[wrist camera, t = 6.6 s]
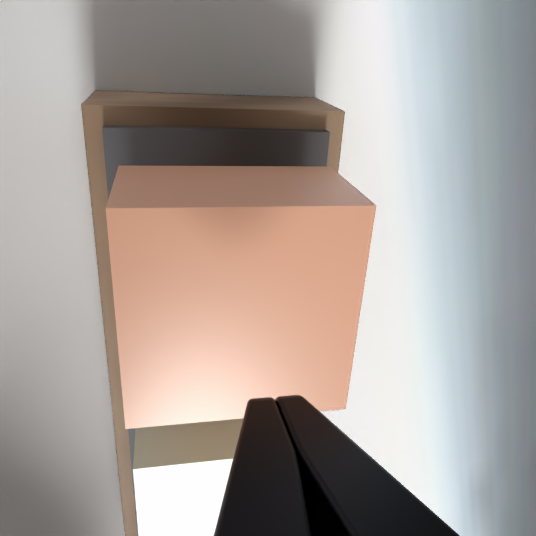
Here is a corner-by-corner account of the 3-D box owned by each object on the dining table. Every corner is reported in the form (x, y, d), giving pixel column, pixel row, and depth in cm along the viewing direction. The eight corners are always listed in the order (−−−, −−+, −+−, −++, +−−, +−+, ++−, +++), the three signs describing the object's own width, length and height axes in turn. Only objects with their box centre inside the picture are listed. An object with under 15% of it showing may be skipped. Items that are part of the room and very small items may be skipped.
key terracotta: (132, 349, 14) (125, 429, 11) (118, 165, 11) (105, 208, 9) (311, 338, 14) (345, 408, 12) (330, 166, 12) (376, 205, 10)
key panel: (136, 548, 24) (132, 622, 21) (95, 90, 15) (79, 106, 12) (277, 529, 26) (293, 596, 23) (315, 97, 17) (349, 114, 14)
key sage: (146, 507, 17) (143, 596, 15) (137, 390, 15) (132, 469, 12) (289, 490, 18) (310, 570, 15) (300, 378, 16) (327, 448, 13)
